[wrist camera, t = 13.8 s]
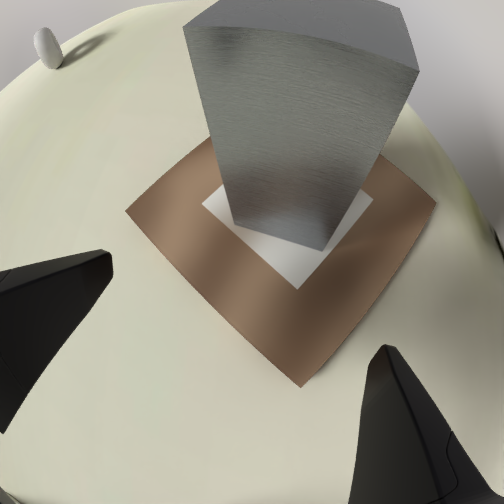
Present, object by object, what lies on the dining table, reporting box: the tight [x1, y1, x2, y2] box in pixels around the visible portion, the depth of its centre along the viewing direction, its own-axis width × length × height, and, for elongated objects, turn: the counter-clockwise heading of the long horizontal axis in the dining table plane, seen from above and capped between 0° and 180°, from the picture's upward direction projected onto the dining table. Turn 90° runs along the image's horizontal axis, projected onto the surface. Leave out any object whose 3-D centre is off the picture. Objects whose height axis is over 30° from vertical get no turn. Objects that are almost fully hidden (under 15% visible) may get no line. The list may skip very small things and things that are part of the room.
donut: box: [34, 28, 63, 69], centre depth 26 cm, size 10×4×10 cm, turn 33°
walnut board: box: [125, 136, 436, 388], centre depth 18 cm, size 16×16×2 cm
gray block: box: [183, 0, 420, 252], centre depth 11 cm, size 6×6×12 cm
